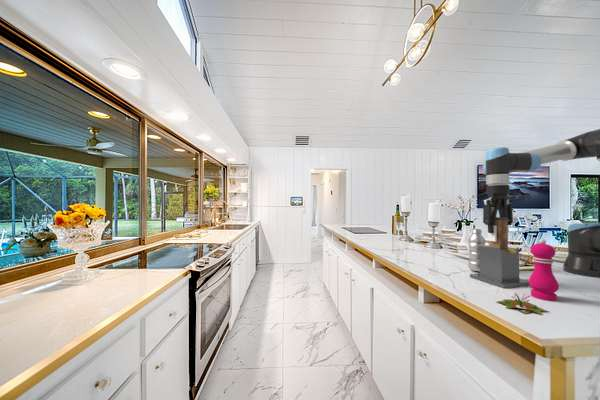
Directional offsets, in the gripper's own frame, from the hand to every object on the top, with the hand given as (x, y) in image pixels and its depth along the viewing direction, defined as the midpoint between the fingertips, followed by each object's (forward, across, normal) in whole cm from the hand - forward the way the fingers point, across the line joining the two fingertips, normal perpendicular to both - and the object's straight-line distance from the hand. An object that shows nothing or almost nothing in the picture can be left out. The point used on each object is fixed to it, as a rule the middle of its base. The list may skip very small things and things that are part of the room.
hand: (498, 240), depth 99 cm
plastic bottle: (+17, -5, -14) cm, 23 cm away
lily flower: (+17, +19, +21) cm, 33 cm away
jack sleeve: (+17, 0, 0) cm, 17 cm away
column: (+15, 0, 0) cm, 15 cm away
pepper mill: (+17, +3, +17) cm, 24 cm away
